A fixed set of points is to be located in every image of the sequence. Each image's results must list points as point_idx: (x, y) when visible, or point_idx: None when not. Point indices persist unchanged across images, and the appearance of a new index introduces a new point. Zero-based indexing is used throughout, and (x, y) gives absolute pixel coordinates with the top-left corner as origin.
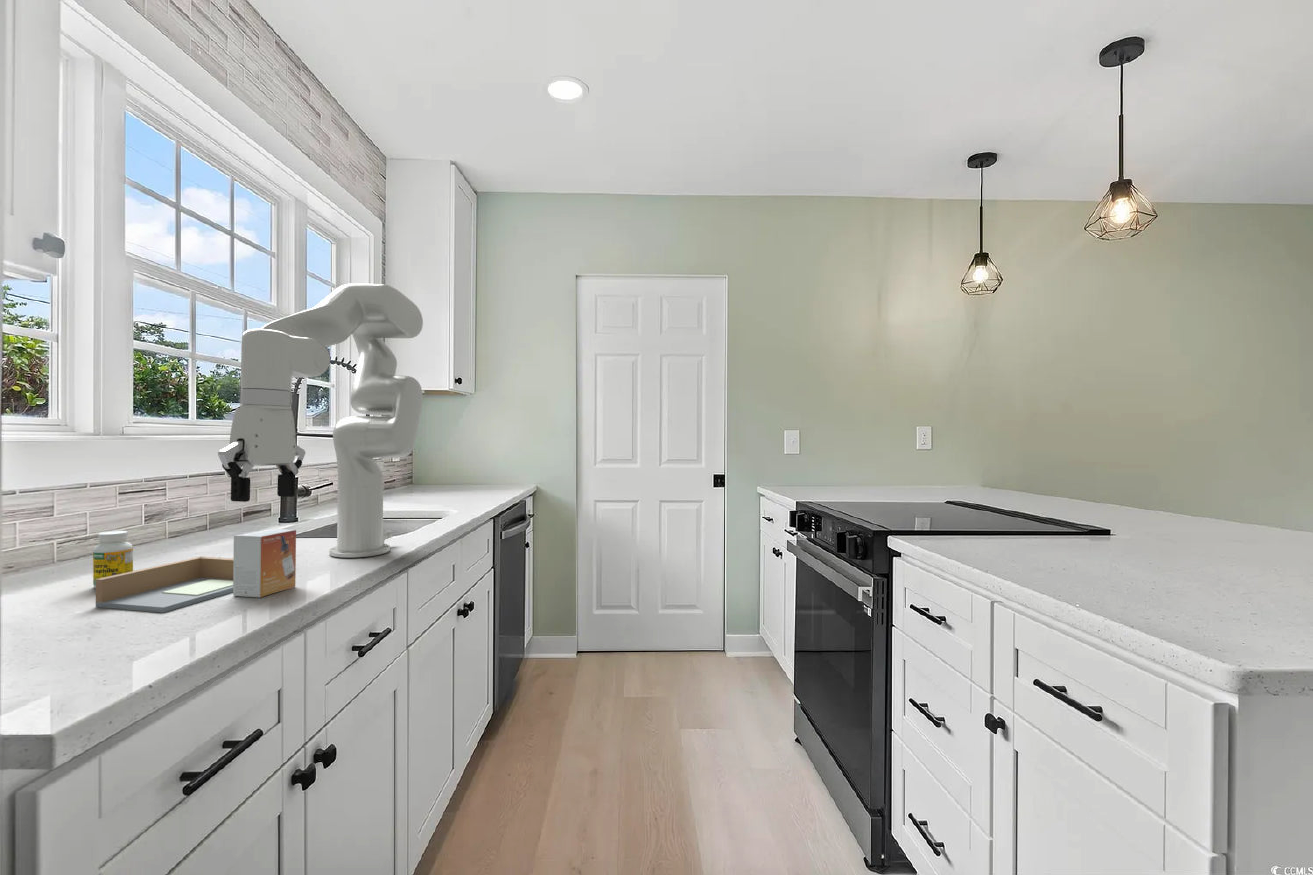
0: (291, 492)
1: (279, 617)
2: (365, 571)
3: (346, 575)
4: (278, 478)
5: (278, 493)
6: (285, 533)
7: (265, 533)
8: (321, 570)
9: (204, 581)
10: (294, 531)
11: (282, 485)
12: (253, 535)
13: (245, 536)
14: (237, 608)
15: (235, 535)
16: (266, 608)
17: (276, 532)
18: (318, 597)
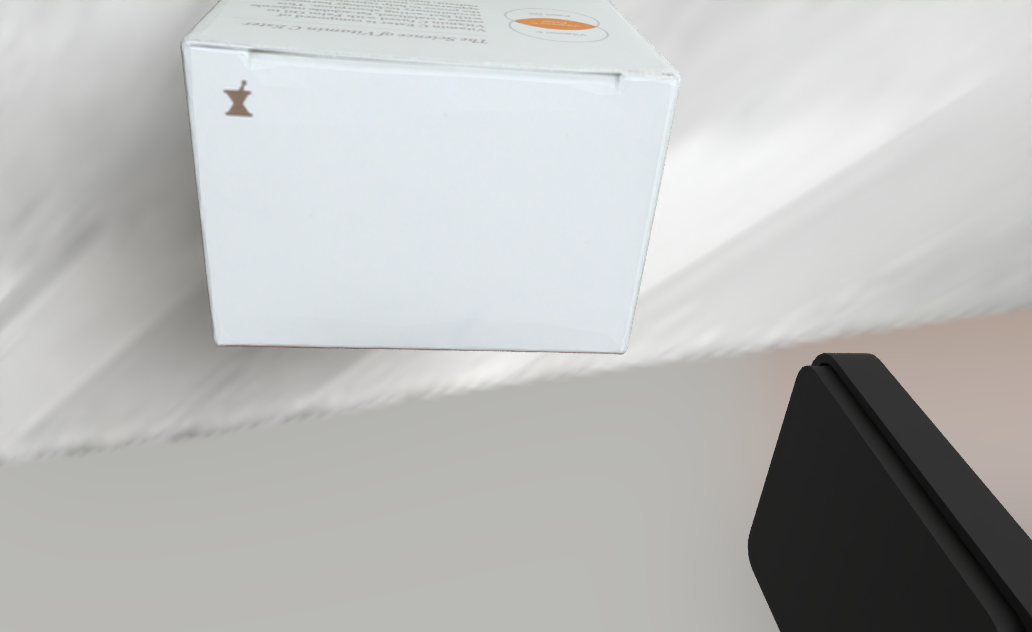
0: (766, 593)
1: (64, 449)
2: (938, 294)
3: (842, 255)
4: (958, 600)
5: (816, 393)
6: (498, 347)
7: (355, 279)
8: (998, 18)
9: None
10: (602, 351)
11: (851, 560)
12: (239, 246)
13: (197, 187)
14: (87, 178)
15: (188, 58)
16: (147, 311)
17: (438, 320)
18: (386, 399)
